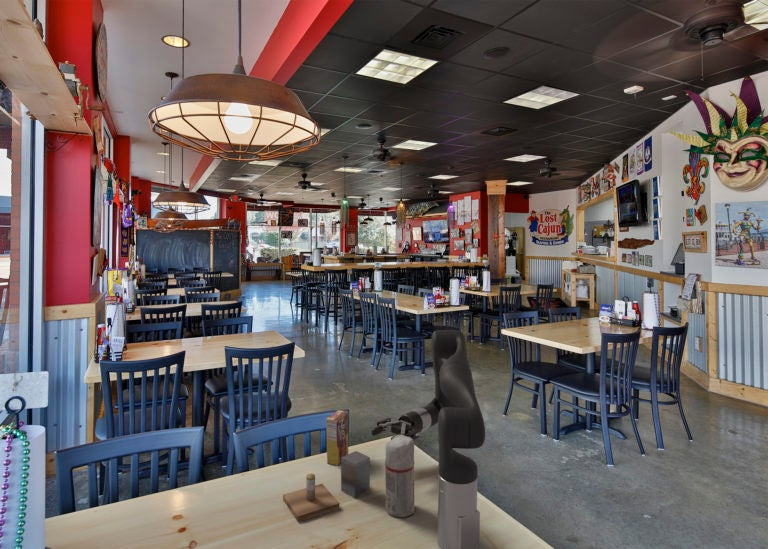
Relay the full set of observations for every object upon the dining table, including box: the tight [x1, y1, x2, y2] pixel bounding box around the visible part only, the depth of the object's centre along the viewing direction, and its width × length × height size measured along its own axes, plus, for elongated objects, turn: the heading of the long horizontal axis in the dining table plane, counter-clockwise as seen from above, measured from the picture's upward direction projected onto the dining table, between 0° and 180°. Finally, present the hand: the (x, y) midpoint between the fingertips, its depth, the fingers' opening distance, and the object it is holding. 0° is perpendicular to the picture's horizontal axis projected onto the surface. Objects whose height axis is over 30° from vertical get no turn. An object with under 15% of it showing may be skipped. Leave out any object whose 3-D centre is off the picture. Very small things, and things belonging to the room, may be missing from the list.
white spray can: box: [384, 434, 416, 518], centre depth 120 cm, size 8×8×20 cm
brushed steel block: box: [340, 450, 371, 499], centre depth 130 cm, size 6×6×10 cm
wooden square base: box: [282, 473, 341, 523], centre depth 122 cm, size 12×12×8 cm
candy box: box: [325, 410, 350, 466], centre depth 150 cm, size 9×4×15 cm, turn 160°
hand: (381, 436), depth 138 cm, fingers open, 8 cm apart
